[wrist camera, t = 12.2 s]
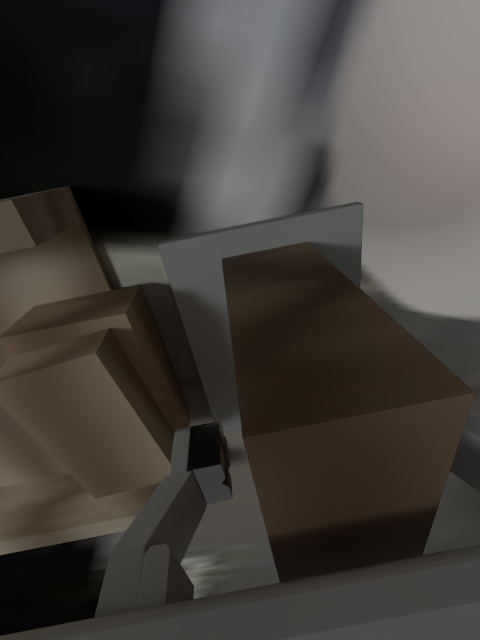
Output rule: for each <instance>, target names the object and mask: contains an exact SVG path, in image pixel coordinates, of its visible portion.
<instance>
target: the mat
mask: <svg viewBox="0 0 480 640" xmlns="http://www.w3.org/2000/svg"><path fill="white" fill-rule="evenodd" d="M362 223H363V203H360V202H354V203H349V204H344V205H339V206H334V207H329V208H324V209H319V210H314V211H309V212H304V213H299V214H294V215H289V216H284V217H279V218H274V219H269V220H264V221H259V222H254V223H249V224H244V225H239V226H234V227H229V228H224V229H219V230H214V231H209V232H204V233H199V234H194V235H189V236H184V237H179V238H174V239H169V240H164V241H160V242H159V243H158V247H159V250H160V254H161V257H162V260H163V263H164V266H165V269H166V272H167V275H168V279H169V282H170V285H171V288H172V291H173V294H174V297H175V300H176V303H177V307H178V310H179V313H180V316H181V319H182V322H183V325H184V328H185V332H186V335H187V338H188V341H189V344H190V347H191V350H192V353H193V357H194V360H195V363H196V366H197V369H198V372H199V375H200V378H201V382H202V385H203V388H204V391H205V394H206V397H207V400H208V403H209V406H210V410H211V413H212V416H213V419H214V422H219V421H220V422H221V424H222V427H223V431H228V430H233V429H238V428H241V420H240V411H239V403H238V394H237V386H236V377H235V369H234V360H233V352H232V344H231V335H230V327H229V318H228V310H227V301H226V293H225V284H224V276H223V268H222V258H227V257H232V256H237V255H242V254H247V253H252V252H257V251H262V250H267V249H272V248H277V247H282V246H287V245H292V244H297V243H302V242H309V243H310V244H311V245H312V246H313V247H314V248H315V249H316V250H317V251H319V252H320V253H321V254H322V255H323V256H324V257H325V258H326V259H327V260H328V261H330V262H331V263H332V264H333V265H334V266H335V267H336V268H337V269H338V270H340V271H341V272H342V273H343V274H344V275H345V276H346V277H347V278H348V279H350V280H351V281H352V282H353V283H354V284H355V285H356V286H357V287H358V288H359V289H360V275H361V250H362Z"/></svg>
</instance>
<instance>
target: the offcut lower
mask: <svg viewBox="0 0 480 640" xmlns="http://www.w3.org/2000/svg"><path fill="white" fill-rule="evenodd" d="M107 328H110V329H111V331H112V332H113V334H114V336H115V337H116V339H117V340H118V342H119V344H120V345H121V347H122V349H123V350H124V352H125V353H126V355H127V357H128V358H129V360H130V362H131V363H132V365H133V367H134V368H135V370H136V371H137V373H138V375H139V376H140V378H141V380H142V381H143V383H144V384H145V386H146V388H147V389H148V391H149V393H150V394H151V396H152V398H153V399H154V401H155V402H156V404H157V406H158V407H159V409H160V411H161V412H162V414H163V415H164V417H165V419H166V420H167V422H168V424H169V425H170V427H171V429H172V430H173V432H174V433H175V432H176V429H179V428H185V427H189V421H190V415H189V412H188V410H187V407H186V404H185V402H184V399H183V397H182V394H181V391H180V389H179V386H178V383H177V381H176V378H175V375H174V373H173V370H172V367H171V365H170V362H169V360H168V357H167V354H166V352H165V349H164V346H163V344H162V341H161V338H160V336H159V333H158V330H157V328H156V325H155V322H154V320H153V317H152V315H151V312H150V309H149V307H148V304H147V301H146V299H145V296H144V293H143V291H142V288H141V285H136V286H131V287H126V288H121V289H116V290H111V291H106V292H101V293H96V294H91V295H86V296H81V297H76V298H71V299H66V300H61V301H56V302H51V303H46V304H41V305H36V306H34V307H32V308H31V309H30V310H29V311H28V312H27V313H26V314H24V315H23V316H22V317H21V318H20V319H19V320H18V321H16V322H15V323H14V324H13V325H12V326H11V327H10V328H9V329H7V330H6V331H5V332H4V333H3V334H2V335H1V336H0V344H1V346H2V347H3V348H4V350H5V351H6V353H7V354H8V355H9V357H10V358H11V357H14V356H17V355H21V354H24V353H27V352H31V351H34V350H37V349H41V348H44V347H47V346H51V345H54V344H57V343H61V342H64V341H67V340H71V339H74V338H77V337H81V336H84V335H87V334H90V333H94V332H97V331H100V330H104V329H107Z"/></svg>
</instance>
